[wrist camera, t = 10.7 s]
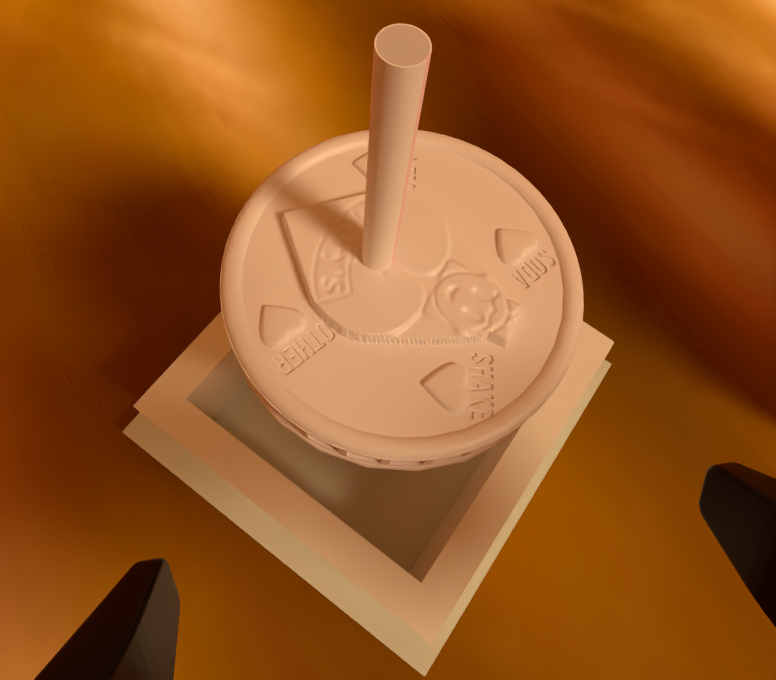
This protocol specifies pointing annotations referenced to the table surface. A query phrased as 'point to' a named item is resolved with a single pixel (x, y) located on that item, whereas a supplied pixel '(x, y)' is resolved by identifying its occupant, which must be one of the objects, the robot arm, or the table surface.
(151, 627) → the robot arm
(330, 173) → the smoothie
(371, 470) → the cream square tray
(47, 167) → the table surface
